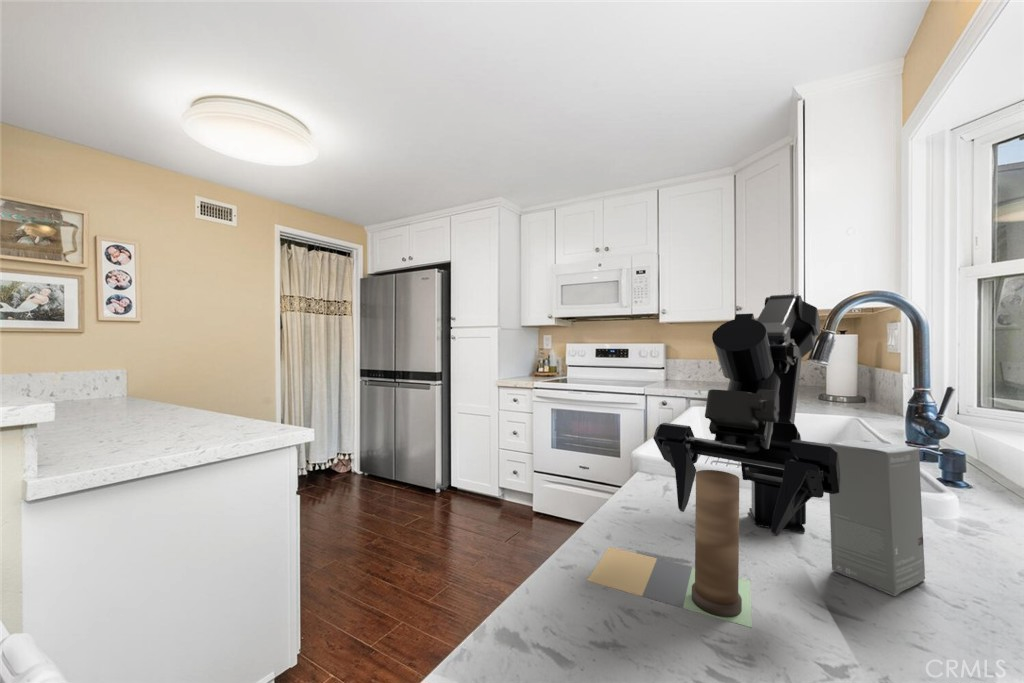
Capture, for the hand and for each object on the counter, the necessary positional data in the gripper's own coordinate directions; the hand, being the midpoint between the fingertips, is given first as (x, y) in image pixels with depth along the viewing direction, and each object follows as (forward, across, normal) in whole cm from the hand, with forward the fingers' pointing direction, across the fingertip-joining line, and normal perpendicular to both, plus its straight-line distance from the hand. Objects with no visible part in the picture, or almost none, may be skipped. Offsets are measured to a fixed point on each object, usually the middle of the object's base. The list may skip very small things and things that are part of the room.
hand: (724, 521), depth 45 cm
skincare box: (-6, +12, +20) cm, 24 cm away
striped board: (+8, -5, +5) cm, 10 cm away
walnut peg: (+7, 0, +3) cm, 8 cm away
